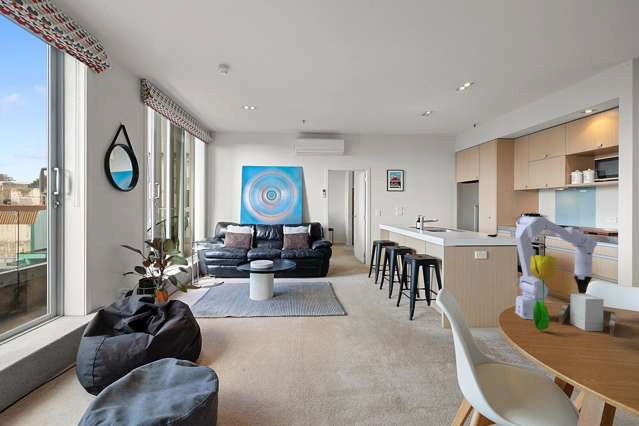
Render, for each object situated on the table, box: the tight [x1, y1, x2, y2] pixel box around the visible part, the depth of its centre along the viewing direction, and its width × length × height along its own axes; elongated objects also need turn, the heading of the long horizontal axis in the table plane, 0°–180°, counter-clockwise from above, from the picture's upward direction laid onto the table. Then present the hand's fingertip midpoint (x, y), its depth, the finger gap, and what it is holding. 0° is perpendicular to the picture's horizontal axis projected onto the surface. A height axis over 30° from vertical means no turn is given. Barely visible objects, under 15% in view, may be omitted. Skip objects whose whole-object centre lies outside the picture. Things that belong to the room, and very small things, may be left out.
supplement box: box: [569, 293, 605, 332], centre depth 120 cm, size 7×7×13 cm
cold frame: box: [558, 302, 617, 337], centre depth 123 cm, size 17×16×5 cm
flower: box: [530, 254, 557, 332], centre depth 115 cm, size 9×8×30 cm
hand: (582, 292), depth 131 cm, fingers closed
